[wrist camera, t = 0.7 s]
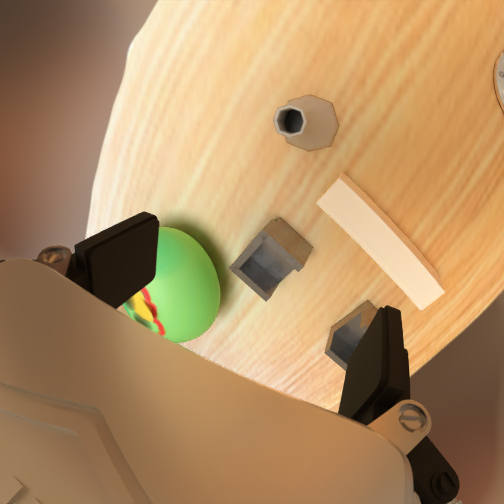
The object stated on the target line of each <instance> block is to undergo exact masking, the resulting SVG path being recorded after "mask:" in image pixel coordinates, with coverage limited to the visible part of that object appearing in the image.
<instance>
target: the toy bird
mask: <svg viewBox="0 0 504 504" xmlns="http://www.w3.org/2000/svg"><path fill="white" fill-rule="evenodd" d="M123 306H124V308H125V310H126V311H127V313H128V314H129V316H130V317H131V318H132V319H133V320H135V321H137V322H138V323H140V324H142V325H144V326H145V327H147V328H149V329H151V330H153V331H154V332H156V333H158V334H160V335H162V336H163V337H165V338H167V339H169V340H171V341H173V342H175V343H180V342H186V341H190V340H192V339H195V338H197V337H199V336H200V335H202V334H203V333H204V332H206V331H207V330H208V329H209V328H210V326H211V325H212V324H213V322H214V320H215V318H216V316H217V313H218V310H219V306H220V285H219V280H218V276H217V272H216V270H215V267H214V265H213V263H212V261H211V259H210V257H209V256H208V254H207V253H206V251H205V250H204V249H203V248H202V246H201V245H200V244H199V243H198V242H197V241H196V240H195V239H193V238H192V237H191V236H189V235H188V234H186V233H184V232H182V231H180V230H177V229H174V228H170V227H159V235H158V248H157V263H156V275H155V278H154V279H153V281H152V282H150V283H149V284H148V285H147V286H145V287H144V288H143V289H141V290H140V291H139V292H138V293H136V294H135V295H134V296H132V297H131V298H130V299H129V300H127V301H126V302H125V303H124V304H123Z"/></svg>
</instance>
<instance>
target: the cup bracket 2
mask: <svg viewBox="0 0 504 504" xmlns="http://www.w3.org/2000/svg"><path fill="white" fill-rule="evenodd" d="M377 311H378V310H377V309H376V308H375V307H374V306H373V305H372V304H371V303H370V302H369V301H368V300H367V301H366V302H364V303H363V304H362V305H361V306H359V307H358V308H357V309H355V310H354V311H353V312H351V313H350V314H349V315H347V316H346V317H345V318H343V319H342V320H341V321H339V322H338V323H336V324H335V325H334V326H332V327H331V330H330V334H329V338H328V341H327V345H326V349H325V352H324V353H325V354H326V355H328V356H329V357H330V358H331V359H332V360H333V361H335V362H336V363H337V364H338V365H339V366H341V367H342V368H343V369H344V370H345V371H346V369H347V364H348V361H349V358H350V356H351V355H352V353H353V352H354V350H355V348H356V347H357V345H358V344H359V342H360V340H361V339H362V337H363V335H364V334H365V332H366V330H367V329H368V327H369V325H370V323H371V322H372V320H373V318H374V316H375V315H376V313H377Z"/></svg>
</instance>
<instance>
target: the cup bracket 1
mask: <svg viewBox="0 0 504 504" xmlns="http://www.w3.org/2000/svg"><path fill="white" fill-rule="evenodd" d="M312 249H313V247H312V246H311V245H310V244H309V243H308V242H307V241H306V240H305V239H303V238H302V237H301V236H300V235H299V234H298V233H297V232H296V231H295V230H294V229H293V228H291V227H290V226H289V225H288V224H287V223H286V222H285V221H284V220H283V219H282V218H279V219H278V220H277V221H274V220H272V221H271V222H270V223H269V224H268V225H267V226H266V227H265V228H264V229H263V230H262V231H261V232H260V233H259V234H258V235H257V236H256V238H255V239H254V240H253V241H252V242H251V243H250V244H249V246H248V247H247V248H246V249H245V250H244V251H243V252H242V254H241V255H240V256H239V257H238V258H237V259H236V261H235V262H234V263H233V264H232V265H231V266H230V267H229V269H230V270H232V271H233V272H234V273H235V274H236V275H237V276H238V277H239V278H240V279H241V280H243V281H244V282H245V283H246V284H247V285H248V286H249V287H250V288H251V289H253V290H254V291H255V292H256V293H257V294H258V295H259V296H260V297H261V298H263V299H264V300H265V301H267V300H268V299H269V298H270V297H271V296H272V294H273V293H274V291H275V289H276V288H277V286H278V284H279V283H280V282H281V281H282V280H283V279H284V278H285V277H286V276H287V275H288V274H289V273H290V272H291V271H292V270H293V269H296V270H297V271H298V272H299V271H300V270H301V269H302V268H303V267H304V265H305V263H306V261H307V259H308V257H309V255H310V253H311V251H312Z"/></svg>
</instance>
